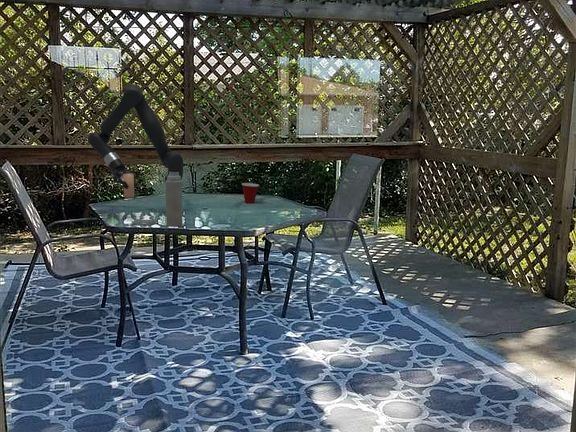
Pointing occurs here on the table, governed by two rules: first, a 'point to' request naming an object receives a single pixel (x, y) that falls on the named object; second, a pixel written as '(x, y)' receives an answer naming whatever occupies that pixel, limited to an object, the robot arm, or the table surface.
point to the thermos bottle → (173, 199)
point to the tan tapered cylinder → (130, 182)
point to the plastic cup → (249, 192)
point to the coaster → (143, 222)
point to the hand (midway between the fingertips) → (131, 187)
